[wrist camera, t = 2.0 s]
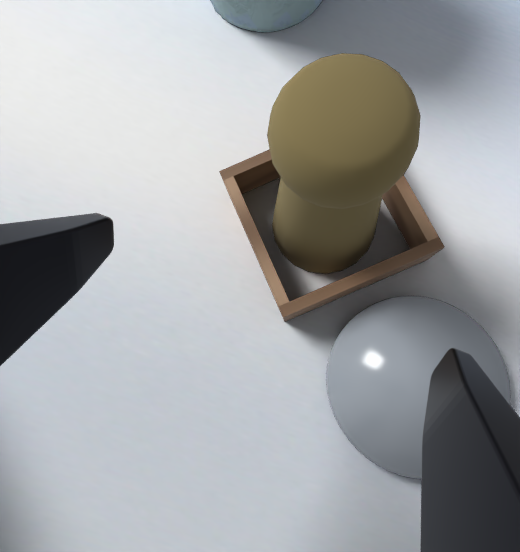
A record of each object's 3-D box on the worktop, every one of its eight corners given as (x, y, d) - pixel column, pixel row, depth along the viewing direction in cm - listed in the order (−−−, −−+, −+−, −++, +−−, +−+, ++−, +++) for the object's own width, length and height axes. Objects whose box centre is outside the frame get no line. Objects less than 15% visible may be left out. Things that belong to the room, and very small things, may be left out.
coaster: (536, 432, 19) (547, 435, 18) (372, 503, 19) (376, 509, 18) (447, 272, 21) (453, 269, 20) (299, 337, 21) (299, 336, 20)
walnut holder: (427, 259, 21) (444, 247, 19) (284, 321, 21) (283, 317, 19) (358, 133, 23) (365, 107, 21) (227, 190, 23) (219, 171, 21)
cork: (271, 179, 23) (250, 28, 13) (371, 173, 23) (437, 11, 12) (272, 275, 22) (251, 198, 11) (379, 271, 22) (461, 187, 11)
